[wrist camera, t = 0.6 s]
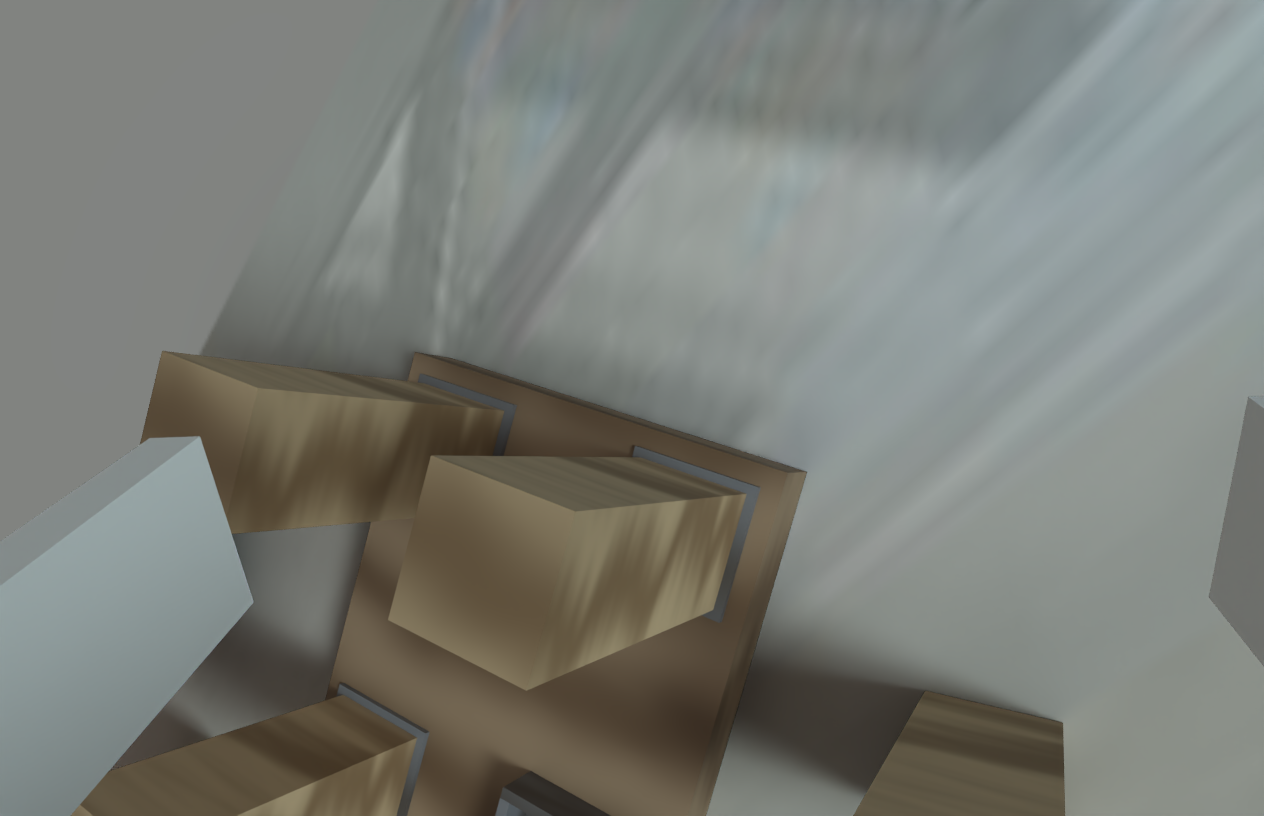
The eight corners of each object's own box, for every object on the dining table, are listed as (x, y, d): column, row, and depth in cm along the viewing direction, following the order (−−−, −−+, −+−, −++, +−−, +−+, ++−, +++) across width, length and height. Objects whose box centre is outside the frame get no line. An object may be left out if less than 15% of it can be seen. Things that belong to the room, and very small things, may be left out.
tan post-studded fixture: (452, 358, 46) (147, 306, 31) (806, 471, 38) (631, 479, 22) (342, 777, 48) (1, 928, 32) (657, 979, 39) (397, 1316, 24)
